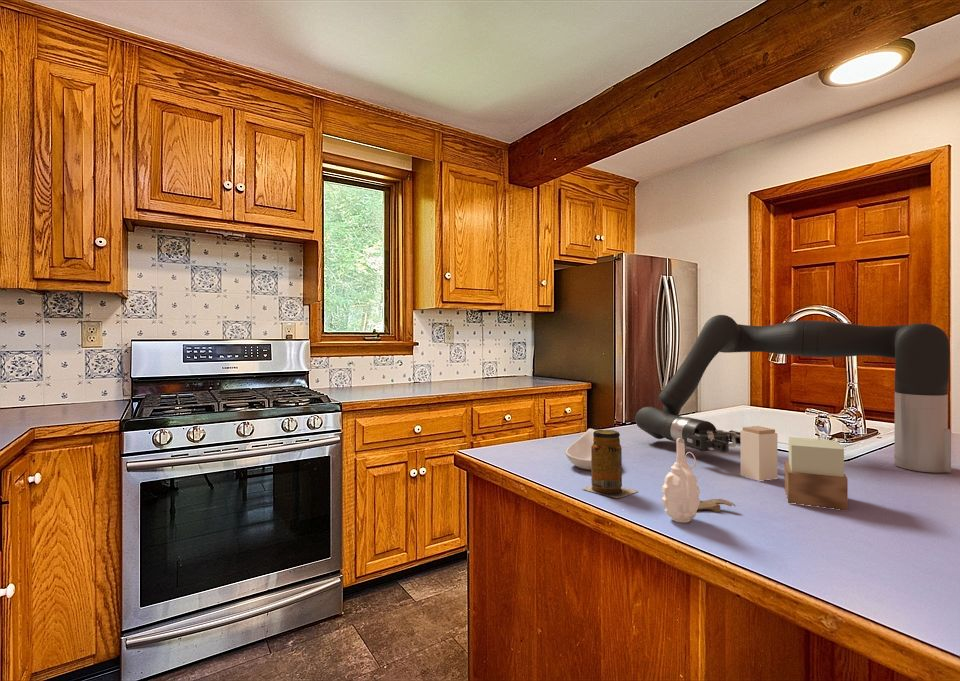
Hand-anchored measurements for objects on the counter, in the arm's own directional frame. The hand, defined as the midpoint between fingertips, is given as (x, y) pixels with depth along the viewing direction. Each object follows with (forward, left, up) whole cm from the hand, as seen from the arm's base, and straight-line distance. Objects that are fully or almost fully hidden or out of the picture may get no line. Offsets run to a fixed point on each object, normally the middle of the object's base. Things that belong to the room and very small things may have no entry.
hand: (742, 446), depth 115 cm
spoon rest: (+33, +4, -6) cm, 34 cm away
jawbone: (+8, +22, -7) cm, 25 cm away
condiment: (+24, +26, -6) cm, 36 cm away
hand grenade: (+9, +37, -6) cm, 39 cm away
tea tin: (-3, +3, -6) cm, 7 cm away
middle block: (-12, +15, 0) cm, 19 cm away
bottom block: (-12, +15, -6) cm, 20 cm away
